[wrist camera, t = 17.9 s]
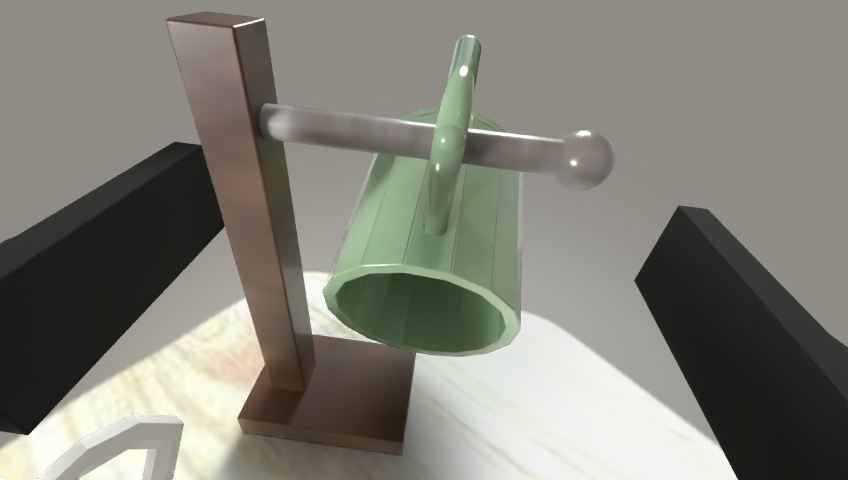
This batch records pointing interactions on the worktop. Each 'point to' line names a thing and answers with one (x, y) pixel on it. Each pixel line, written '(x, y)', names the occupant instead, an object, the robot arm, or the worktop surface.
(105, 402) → the worktop surface
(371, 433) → the mug tree
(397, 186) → the sage mug
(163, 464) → the mug
